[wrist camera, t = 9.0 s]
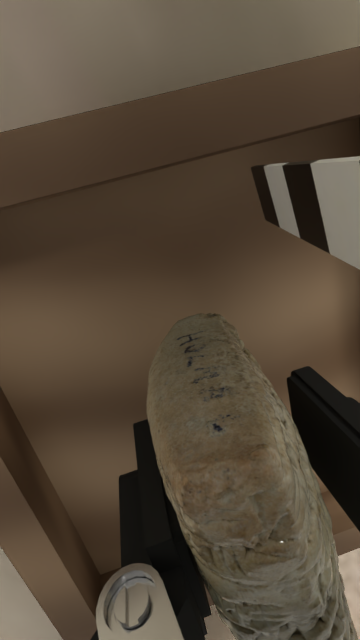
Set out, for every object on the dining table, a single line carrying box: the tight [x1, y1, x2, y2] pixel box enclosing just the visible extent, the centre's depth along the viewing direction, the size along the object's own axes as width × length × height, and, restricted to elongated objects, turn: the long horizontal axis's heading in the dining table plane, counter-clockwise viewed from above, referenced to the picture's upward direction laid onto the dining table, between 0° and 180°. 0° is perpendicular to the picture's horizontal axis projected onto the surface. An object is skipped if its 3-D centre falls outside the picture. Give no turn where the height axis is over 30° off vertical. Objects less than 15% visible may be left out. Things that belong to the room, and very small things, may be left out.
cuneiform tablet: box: [146, 156, 360, 640], centre depth 8 cm, size 7×4×12 cm
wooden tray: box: [0, 46, 360, 640], centre depth 13 cm, size 19×17×3 cm
